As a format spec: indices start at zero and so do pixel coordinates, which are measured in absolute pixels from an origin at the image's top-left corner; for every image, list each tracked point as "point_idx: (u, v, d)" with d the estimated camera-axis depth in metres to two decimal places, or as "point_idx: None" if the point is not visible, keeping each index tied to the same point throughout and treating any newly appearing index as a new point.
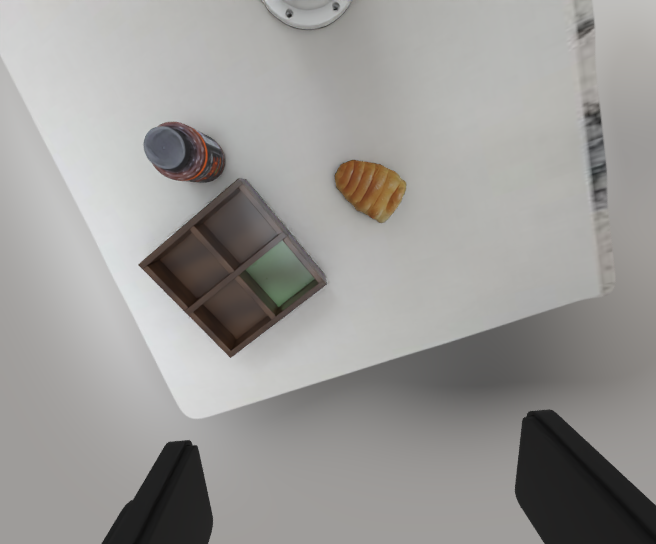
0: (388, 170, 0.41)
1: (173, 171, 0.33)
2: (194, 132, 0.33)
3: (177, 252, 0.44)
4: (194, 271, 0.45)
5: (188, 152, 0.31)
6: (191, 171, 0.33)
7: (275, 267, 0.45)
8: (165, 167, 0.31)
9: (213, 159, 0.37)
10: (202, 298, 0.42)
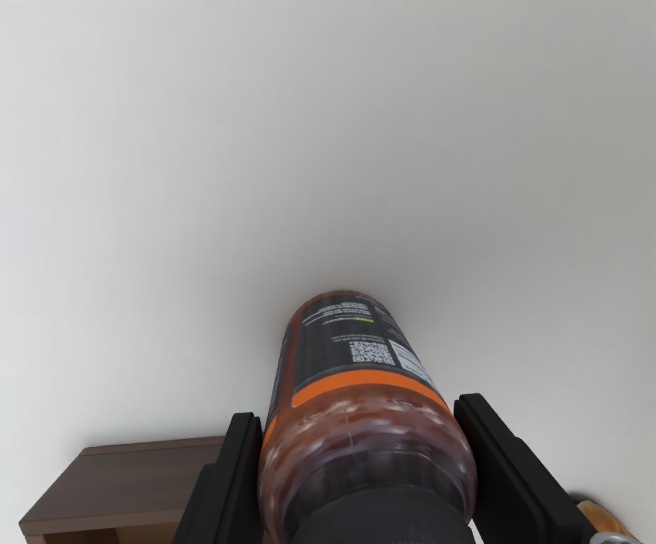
0: None
1: None
2: (476, 479, 0.08)
3: None
4: None
5: None
6: None
7: None
8: None
9: None
10: None
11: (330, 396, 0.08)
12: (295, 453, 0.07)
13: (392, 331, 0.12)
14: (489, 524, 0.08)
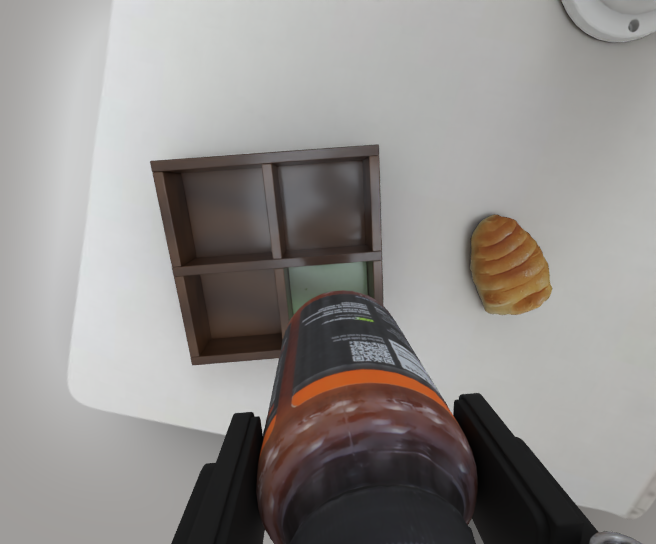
0: (545, 260, 0.29)
1: None
2: (476, 479, 0.08)
3: (213, 180, 0.28)
4: (218, 219, 0.28)
5: None
6: None
7: (327, 282, 0.30)
8: None
9: None
10: (210, 266, 0.26)
11: (330, 396, 0.08)
12: (294, 453, 0.07)
13: (392, 331, 0.12)
14: (489, 524, 0.08)
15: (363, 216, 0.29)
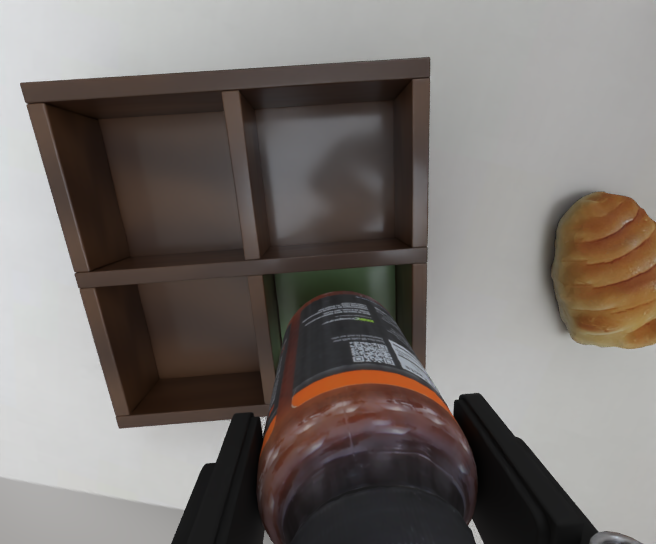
0: None
1: None
2: (476, 480, 0.08)
3: (151, 131, 0.17)
4: (162, 197, 0.18)
5: None
6: None
7: None
8: None
9: None
10: (140, 272, 0.15)
11: (330, 396, 0.08)
12: (294, 454, 0.07)
13: (392, 331, 0.12)
14: (489, 524, 0.08)
15: (392, 193, 0.18)
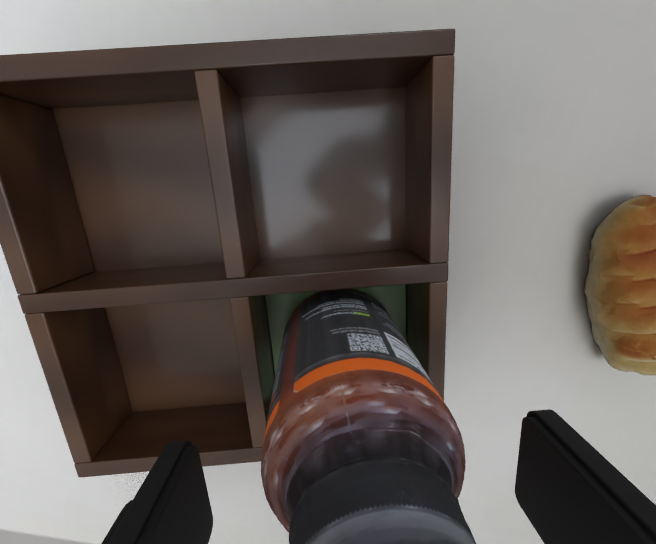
0: None
1: None
2: None
3: (117, 124, 0.14)
4: (131, 201, 0.15)
5: None
6: None
7: None
8: None
9: None
10: (98, 294, 0.13)
11: (329, 381, 0.08)
12: (297, 433, 0.08)
13: (387, 324, 0.12)
14: None
15: (402, 197, 0.16)
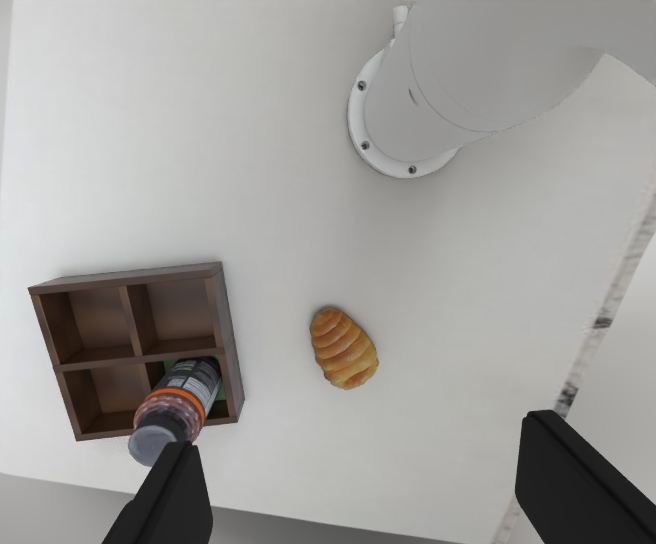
0: (369, 344, 0.36)
1: None
2: (198, 419, 0.28)
3: (92, 289, 0.34)
4: (99, 319, 0.35)
5: None
6: None
7: None
8: (141, 463, 0.26)
9: None
10: (84, 364, 0.32)
11: (152, 396, 0.28)
12: (140, 411, 0.27)
13: (197, 373, 0.32)
14: None
15: None
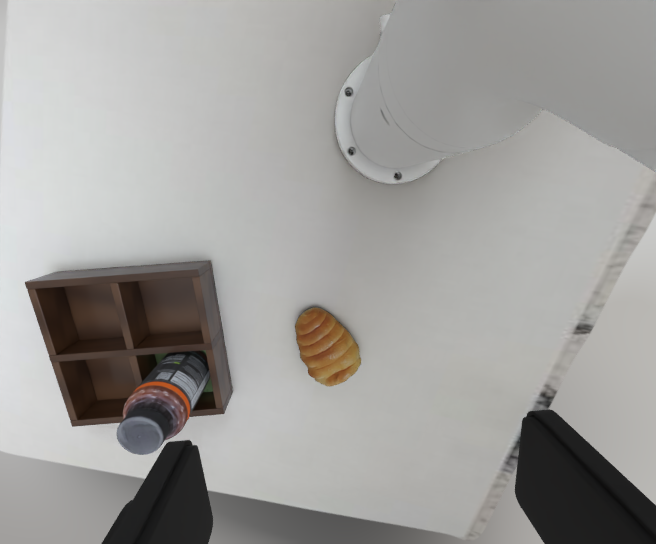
0: (351, 344, 0.37)
1: None
2: (183, 411, 0.30)
3: None
4: (94, 312, 0.36)
5: (162, 442, 0.29)
6: None
7: None
8: (129, 450, 0.28)
9: None
10: (79, 355, 0.34)
11: (141, 388, 0.30)
12: (129, 402, 0.29)
13: (185, 367, 0.34)
14: None
15: None
